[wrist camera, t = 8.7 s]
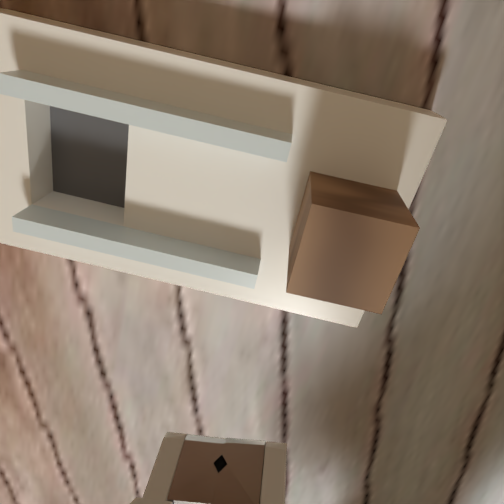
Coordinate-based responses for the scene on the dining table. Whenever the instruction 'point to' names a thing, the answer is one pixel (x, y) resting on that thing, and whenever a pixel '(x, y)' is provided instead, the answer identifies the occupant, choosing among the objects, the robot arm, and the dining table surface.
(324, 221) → the walnut block
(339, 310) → the channel
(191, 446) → the robot arm
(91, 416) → the dining table surface
